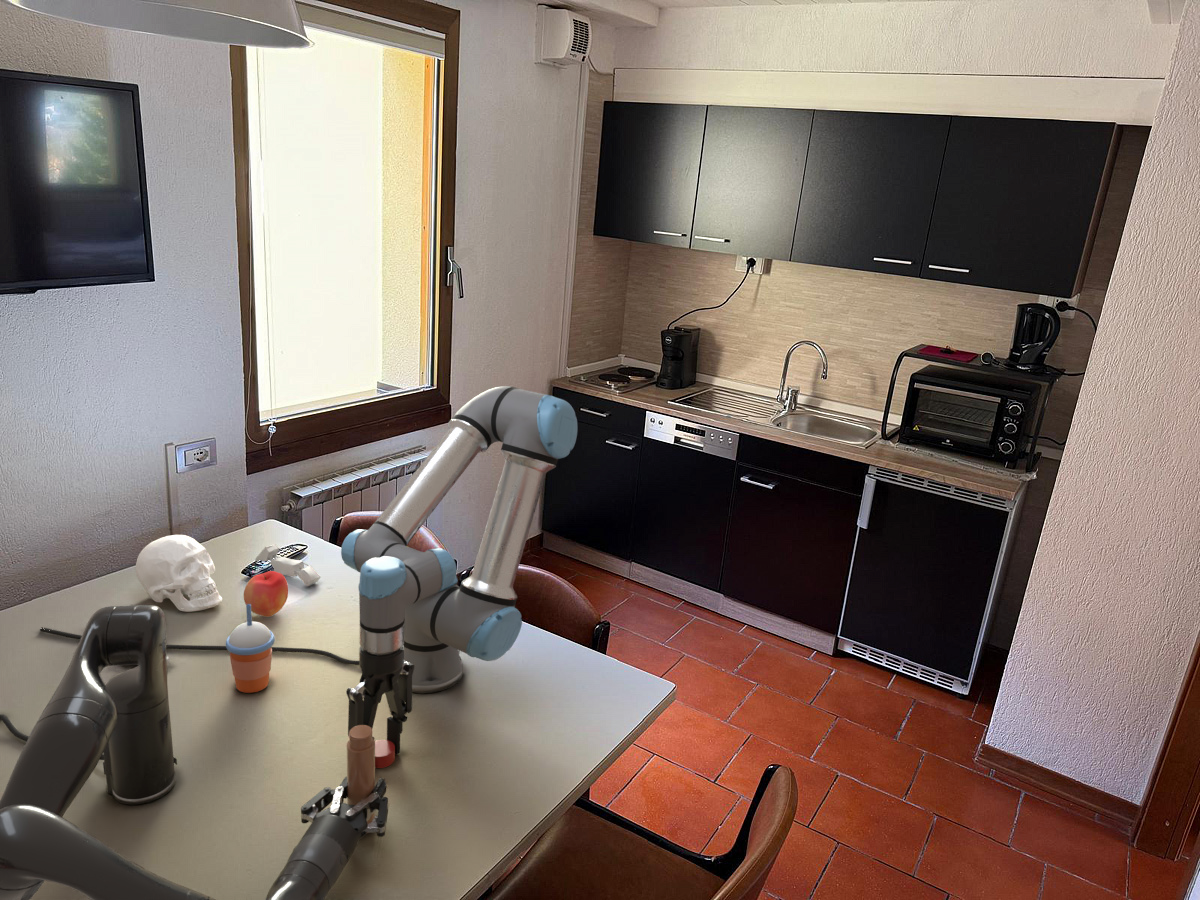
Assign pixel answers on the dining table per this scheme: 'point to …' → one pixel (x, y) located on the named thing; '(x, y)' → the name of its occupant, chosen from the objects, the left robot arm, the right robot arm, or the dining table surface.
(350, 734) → the tan tall cylinder
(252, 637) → the cup with straw
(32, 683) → the dining table surface
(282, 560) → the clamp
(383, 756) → the lid
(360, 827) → the left robot arm
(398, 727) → the right robot arm
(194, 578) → the skull
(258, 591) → the apple
